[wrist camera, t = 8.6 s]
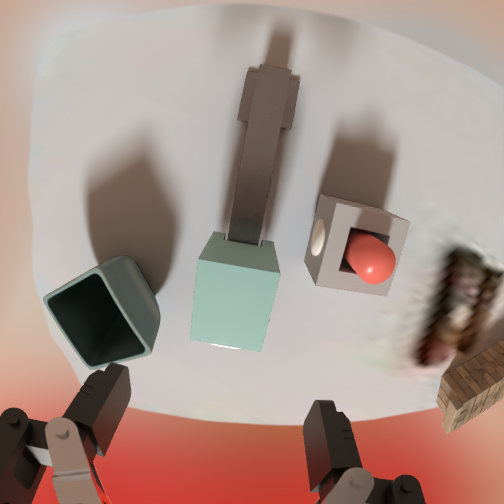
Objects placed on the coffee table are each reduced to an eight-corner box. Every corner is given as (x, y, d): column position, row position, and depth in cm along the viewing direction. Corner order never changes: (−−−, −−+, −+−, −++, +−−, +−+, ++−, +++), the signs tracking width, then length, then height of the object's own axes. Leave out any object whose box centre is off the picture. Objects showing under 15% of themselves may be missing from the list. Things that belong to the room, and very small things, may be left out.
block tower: (536, 308, 33) (433, 377, 35) (561, 327, 25) (458, 411, 27) (528, 338, 35) (429, 405, 37) (550, 357, 27) (448, 437, 29)
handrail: (299, 82, 23) (310, 63, 18) (250, 325, 31) (249, 359, 26) (247, 73, 23) (245, 50, 18) (206, 317, 31) (197, 350, 25)
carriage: (273, 241, 24) (280, 273, 17) (259, 304, 26) (261, 351, 19) (214, 231, 24) (198, 259, 17) (205, 295, 25) (189, 339, 19)
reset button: (378, 233, 24) (400, 248, 19) (368, 266, 24) (388, 286, 20) (346, 226, 23) (364, 240, 19) (337, 261, 24) (352, 281, 20)
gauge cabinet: (382, 209, 27) (410, 221, 21) (364, 271, 29) (386, 296, 24) (316, 193, 27) (332, 201, 21) (301, 260, 29) (312, 285, 23)
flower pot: (84, 266, 30) (40, 299, 21) (139, 235, 28) (97, 265, 20) (120, 327, 32) (89, 371, 23) (177, 305, 31) (153, 354, 22)
